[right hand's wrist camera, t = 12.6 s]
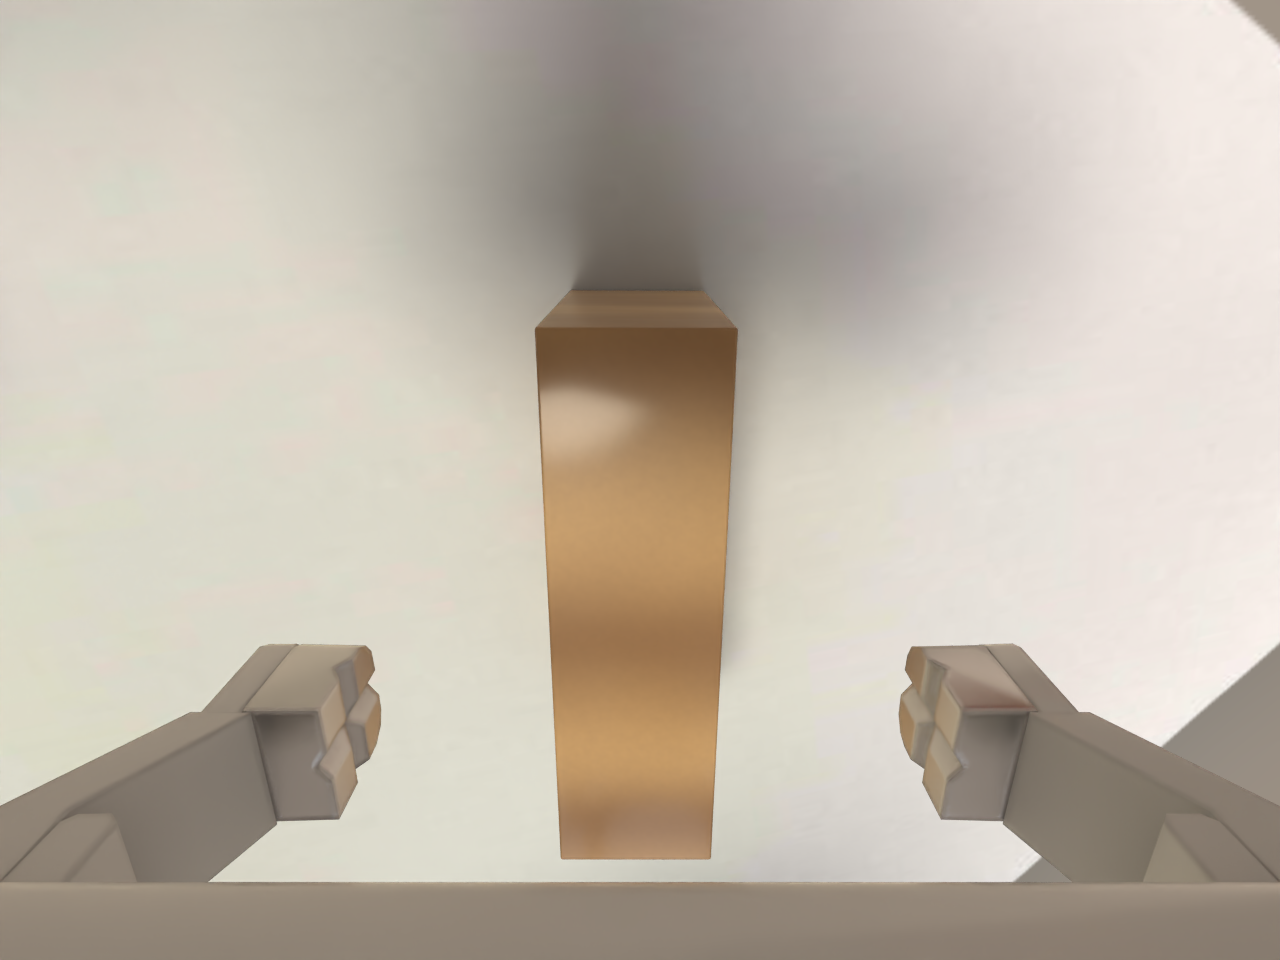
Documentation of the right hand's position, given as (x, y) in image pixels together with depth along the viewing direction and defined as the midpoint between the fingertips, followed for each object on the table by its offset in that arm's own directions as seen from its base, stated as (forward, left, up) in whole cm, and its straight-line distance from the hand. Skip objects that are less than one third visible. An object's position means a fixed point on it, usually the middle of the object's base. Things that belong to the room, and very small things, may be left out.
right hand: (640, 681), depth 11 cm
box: (+6, -1, -22) cm, 23 cm away
